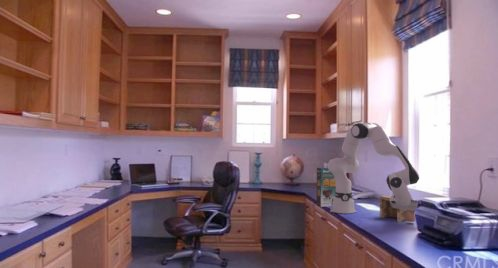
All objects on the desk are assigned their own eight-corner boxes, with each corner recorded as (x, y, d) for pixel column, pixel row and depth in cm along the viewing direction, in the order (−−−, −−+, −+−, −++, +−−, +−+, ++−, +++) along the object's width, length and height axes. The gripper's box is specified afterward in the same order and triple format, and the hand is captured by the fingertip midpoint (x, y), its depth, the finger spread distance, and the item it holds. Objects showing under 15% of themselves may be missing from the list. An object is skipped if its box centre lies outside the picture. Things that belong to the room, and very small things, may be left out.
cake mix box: (339, 204, 309) (340, 167, 310) (344, 205, 303) (344, 167, 304) (316, 205, 301) (316, 167, 302) (320, 206, 295) (321, 168, 296)
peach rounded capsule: (405, 219, 240) (405, 205, 240) (413, 220, 240) (413, 205, 240) (408, 221, 235) (408, 207, 235) (416, 221, 235) (416, 207, 235)
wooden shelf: (398, 221, 241) (399, 199, 242) (379, 217, 256) (379, 196, 256) (411, 220, 247) (412, 198, 247) (392, 215, 261) (392, 195, 261)
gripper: (423, 197, 225) (429, 211, 232) (390, 192, 240) (397, 206, 247) (419, 205, 222) (426, 219, 229) (386, 200, 237) (394, 214, 244)
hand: (411, 212), depth 238 cm, fingers closed on peach rounded capsule, 5 cm apart
